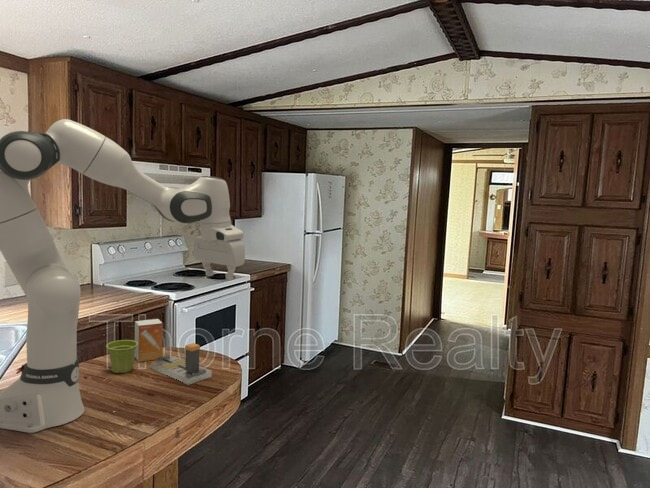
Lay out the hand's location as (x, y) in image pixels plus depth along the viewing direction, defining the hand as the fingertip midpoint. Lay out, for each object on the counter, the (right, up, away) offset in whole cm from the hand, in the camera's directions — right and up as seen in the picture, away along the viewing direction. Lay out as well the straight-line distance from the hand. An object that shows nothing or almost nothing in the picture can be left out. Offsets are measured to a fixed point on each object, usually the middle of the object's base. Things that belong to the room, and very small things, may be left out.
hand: (219, 277), depth 141 cm
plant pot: (-35, -31, +13) cm, 48 cm away
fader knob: (-11, -30, +9) cm, 33 cm away
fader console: (-16, -32, +13) cm, 38 cm away
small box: (-31, -30, +25) cm, 50 cm away
